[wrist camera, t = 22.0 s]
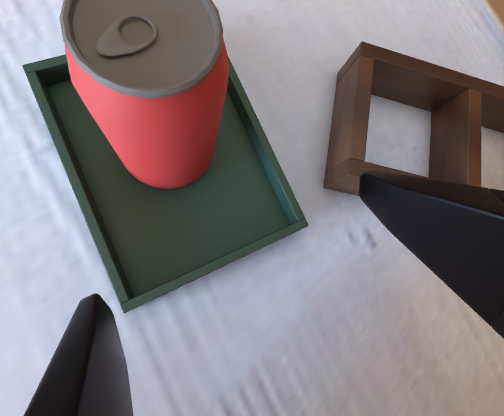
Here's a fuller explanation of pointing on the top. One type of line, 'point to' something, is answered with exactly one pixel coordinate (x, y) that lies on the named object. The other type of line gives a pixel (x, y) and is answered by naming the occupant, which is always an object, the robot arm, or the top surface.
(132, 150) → the beer can
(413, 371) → the top surface
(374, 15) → the top surface
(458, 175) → the can rack
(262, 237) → the tray
